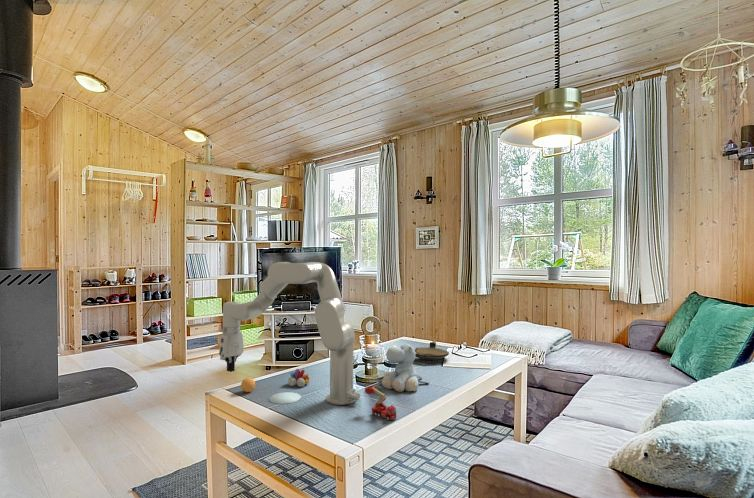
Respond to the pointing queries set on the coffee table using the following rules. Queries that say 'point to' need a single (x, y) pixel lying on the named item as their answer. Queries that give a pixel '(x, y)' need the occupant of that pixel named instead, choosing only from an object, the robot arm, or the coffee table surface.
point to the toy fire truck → (381, 405)
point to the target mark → (285, 398)
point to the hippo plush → (402, 369)
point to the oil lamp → (430, 352)
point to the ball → (248, 385)
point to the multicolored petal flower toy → (298, 378)
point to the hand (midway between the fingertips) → (230, 370)
